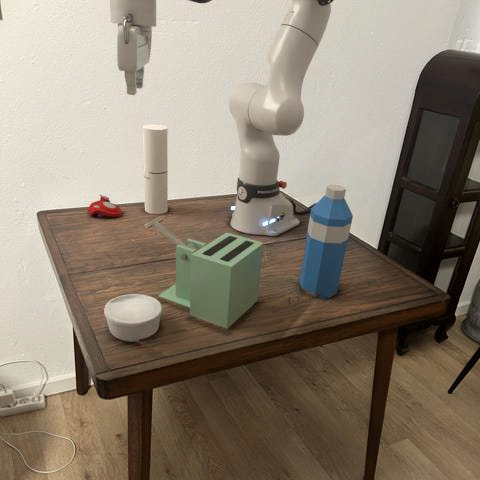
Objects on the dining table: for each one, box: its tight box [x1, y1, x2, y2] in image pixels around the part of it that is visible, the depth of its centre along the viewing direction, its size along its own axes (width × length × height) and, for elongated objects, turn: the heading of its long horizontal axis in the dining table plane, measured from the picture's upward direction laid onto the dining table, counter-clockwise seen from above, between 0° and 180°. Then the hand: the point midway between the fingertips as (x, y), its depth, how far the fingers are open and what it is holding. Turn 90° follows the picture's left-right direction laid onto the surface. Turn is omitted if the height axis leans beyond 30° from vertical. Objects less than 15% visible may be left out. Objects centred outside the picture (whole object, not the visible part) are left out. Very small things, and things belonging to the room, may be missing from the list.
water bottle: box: [298, 184, 354, 299], centre depth 113 cm, size 9×9×25 cm
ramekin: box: [103, 293, 163, 343], centre depth 98 cm, size 11×11×5 cm
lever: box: [143, 216, 199, 251], centre depth 106 cm, size 12×5×2 cm, turn 62°
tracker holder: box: [87, 194, 122, 218], centre depth 150 cm, size 12×4×10 cm
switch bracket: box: [157, 238, 207, 309], centre depth 108 cm, size 11×9×13 cm
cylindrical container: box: [141, 123, 169, 215], centre depth 149 cm, size 7×7×25 cm
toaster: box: [188, 232, 265, 330], centre depth 104 cm, size 9×14×15 cm, turn 152°
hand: (135, 91), depth 104 cm, fingers open, 8 cm apart
